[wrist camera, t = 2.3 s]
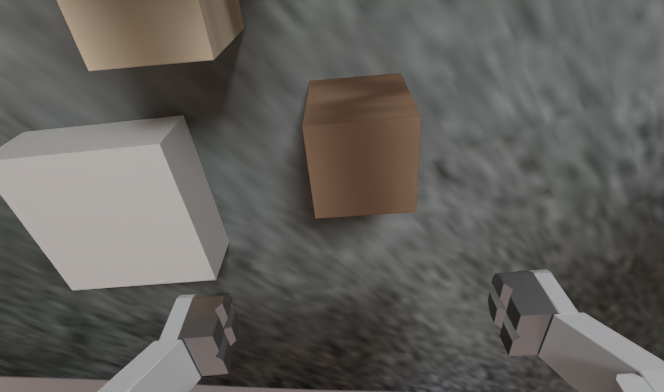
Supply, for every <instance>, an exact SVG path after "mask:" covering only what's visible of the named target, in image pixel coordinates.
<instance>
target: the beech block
mask: <svg viewBox="0 0 664 392" xmlns="http://www.w3.org/2000/svg"><path fill="white" fill-rule="evenodd" d="M57 3H58V5H59V7H60V9H61V11H62V14H63V16H64V18H65V20H66V23H67V25H68V27H69V29H70V31H71V34H72V36H73V38H74V40H75V42H76V45H77V47H78V49H79V51H80V53H81V56H82V58H83V60H84V62H85V64H86V67H87V69H88V71H95V70H106V69H117V68H129V67H140V66H151V65H162V64H173V63H185V62H196V61H207V60H214V59H215V58H216V57H217V56H218V55H219V54H220V53H221V52H222V51H223V50H224V49H225V48H226V47H227V46H228V45H229V44H230V43H231V42H232V41H233V39H234V38H235V37H236V36H237V35H238V34H239V33H240V32H241V31H242V30H243V29H244V28H245V27H244V22H243V17H242V13H241V8H240V3H239V0H57Z"/></svg>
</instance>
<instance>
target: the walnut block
mask: <svg viewBox="0 0 664 392" xmlns="http://www.w3.org/2000/svg"><path fill="white" fill-rule="evenodd" d="M302 129H303V136H304V143H305V150H306V157H307V164H308V171H309V177H310V184H311V191H312V198H313V205H314V212H315V219H316V218H331V217H347V216H362V215H378V214H393V213H409V212H416V207H417V188H418V169H419V150H420V131H421V115H420V113H419V111H418V109H417V107H416V105H415V103H414V100H413V98H412V96H411V94H410V92H409V90H408V88H407V86H406V83H405V81H404V79H403V77H402V75H401V73H397V74H385V75H374V76H362V77H350V78H338V79H326V80H315V81H310V83H309V89H308V95H307V101H306V107H305V112H304V118H303V124H302Z"/></svg>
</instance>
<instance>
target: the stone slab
mask: <svg viewBox="0 0 664 392" xmlns="http://www.w3.org/2000/svg"><path fill="white" fill-rule="evenodd" d="M0 194H1V196H2V197H3V198H4V200H5V201H6V202H7V204H8V205H9V206H10V208H11V209H12V210H13V212H14V213H15V214H16V216H17V217H18V218H19V220H20V221H21V222H22V224H23V225H24V226H25V228H26V229H27V230H28V232H29V233H30V234H31V236H32V237H33V238H34V240H35V241H36V242H37V244H38V245H39V246H40V248H41V249H42V250H43V252H44V253H45V254H46V256H47V257H48V258H49V260H50V261H51V262H52V264H53V265H54V266H55V268H56V269H57V270H58V272H59V273H60V274H61V276H62V277H63V278H64V280H65V281H66V282H67V284H68V285H69V286H70V288H71V289H72V290H84V289H98V288H111V287H125V286H139V285H152V284H166V283H180V282H194V281H207V280H216V279H217V276H218V273H219V270H220V267H221V264H222V261H223V258H224V256H225V253H226V250H227V247H228V244H229V241H228V238H227V235H226V232H225V230H224V227H223V224H222V221H221V218H220V216H219V213H218V210H217V207H216V204H215V202H214V199H213V196H212V193H211V191H210V188H209V185H208V182H207V179H206V177H205V174H204V171H203V168H202V166H201V163H200V160H199V157H198V154H197V152H196V149H195V146H194V143H193V140H192V138H191V135H190V132H189V129H188V127H187V124H186V121H185V118H184V115H181V116H171V117H162V118H152V119H143V120H134V121H124V122H115V123H105V124H96V125H87V126H77V127H68V128H58V129H49V130H39V131H30V132H23V133H21V134H20V135H18V136H17V137H15V138H14V139H12V140H10V141H9V142H7V143H6V144H4V145H3V146H1V147H0Z"/></svg>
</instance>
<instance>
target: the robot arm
mask: <svg viewBox="0 0 664 392" xmlns="http://www.w3.org/2000/svg"><path fill="white" fill-rule="evenodd" d="M492 284H493V286H494V289H493V290H492V291H490V292H489V298H488V303H489V311H490V314H491V317H492V319H493V322H494V323H495V324H496V325H497V326H499V327H500V328H501V333H500V338H501V340H502V342H503V344H504V347H505V349H506V351H507V353H508V355H509V356H520V355H539V357H540V358H541V359H542V360H543V361H544V362H545V363H546V364H547V365H549V366H550V367H551V368H552V369H553V370H554V371H555V372H556V373H558V374H559V375H560V376H561V377H562V378H563V379H564V380H565V381H567V382H568V383H569V384H570V385H571V386H572V387H573V388H574V389H575V390H577V391H578V392H664V361H663V360H661V359H659V358H658V357H656V356H654V355H653V354H651V353H650V352H648V351H646V350H645V349H643V348H641V347H640V346H638V345H636V344H635V343H633V342H632V341H630V340H628V339H627V338H625V337H623V336H622V335H620V334H618V333H617V332H615V331H613V330H612V329H610V328H609V327H607V326H605V325H604V324H602V323H600V322H599V321H597V320H595V319H594V318H592V317H591V316H589V315H587V314H586V313H579V312H578V311H577V309H576V308H575V307H574V305H573V304H572V302H571V301H570V299H569V298H568V297H567V295H566V294H565V292H564V291H563V289H562V288H561V286H560V285H559V284H558V282H557V281H556V279H555V278H554V276H553V275H552V273H551V272H550V271H548V270H547V269H544V270H531V271H517V272H505V273H495V274H494V276H493V279H492ZM231 303H232V299H231V296H230V294H229V293H211V294H194V295H180V296H179V297H178V298H177V299H176V301H175V303H174V306H173V308H172V310H171V313H170V315H169V318H168V320H167V322H166V325H165V327H164V329H163V332H162V334H161V337H160V339H159V341H154V342H153V343H151V344H150V345H149V346H148V347H147V348H146V349H145V350H144V351H142V352H141V353H140V354H139V355H138V356H137V357H136V358H135V359H133V360H132V361H131V362H130V363H129V364H128V365H127V366H126V367H124V368H123V369H122V370H121V371H120V372H119V373H118V374H117V375H115V376H114V377H113V378H112V379H111V380H110V381H109V382H108V383H106V384H105V385H104V386H103V387H102V388H101V389H100V390H99V391H97V392H190V391H191V390H192V389H193V387H194V386H195V385H196V384H197V382H198V381H199V380H200V379H201V377H200V376H208V375H219V374H229V370H230V365H231V361H232V357H233V351H232V349H231V345H232V344H233V343H234V342H235V341H236V339H237V334H238V317H237V313H236V310H235V309H233V308H232V307H231Z"/></svg>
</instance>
